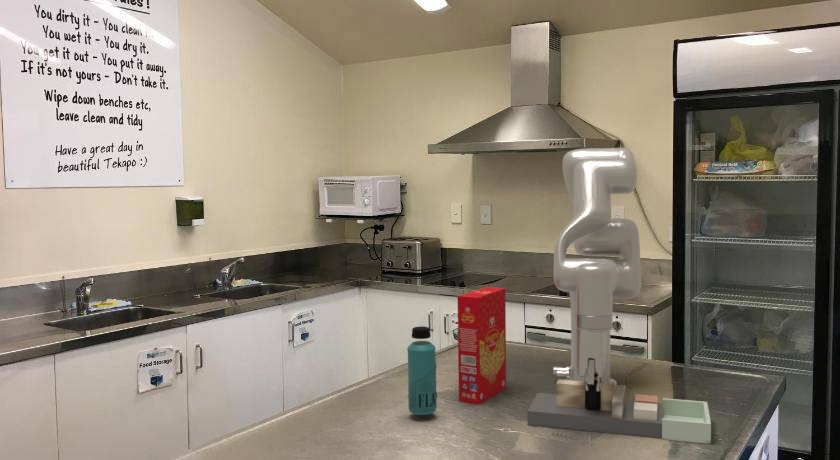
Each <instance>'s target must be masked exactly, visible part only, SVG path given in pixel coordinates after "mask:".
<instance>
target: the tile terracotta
mask: <svg viewBox="0 0 840 460" xmlns="http://www.w3.org/2000/svg"><path fill="white" fill-rule="evenodd" d="M634 401H635V402H639V403H651V404H657V403H658V401H659V400H658V395H653V394H652V395H649V394H640V393H639V394H637V393H635V397H634Z"/></svg>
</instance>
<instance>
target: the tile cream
mask: <svg viewBox="0 0 840 460" xmlns="http://www.w3.org/2000/svg"><path fill="white" fill-rule="evenodd" d="M634 419H644V420H655V421H657V404H651V403H639V402H635V403H634Z"/></svg>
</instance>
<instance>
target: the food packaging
mask: <svg viewBox="0 0 840 460" xmlns="http://www.w3.org/2000/svg"><path fill="white" fill-rule="evenodd" d="M506 307H507V306H506V287H505V288H502V287H490V286H485V287H482V288H479V289H476V290H473V291H470V292H466V293H463V294H461V295H457V345H458V346H457V349H458V351H457V353H458V354H457V355H458V359H457V360H458V362H457V364H458V366H457V367H458V402H461V403H467V404H471V403H472V404H473V405H477V404H478V406H479V404H480V405H481V404H483V403H484V402H486V401H488V400H490V399H491V398H493V397H494V396H496V395H498V394H499V393H501V392H502V391H504V390H505V389H507V344H506V343H507V342H506V341H507V334H506V333H507V328H506V327H507V326H506V324H507V323H506V322H507V320H506V319H507V317H506V315H507V314H506V313H507V311H506V310H507V309H506ZM487 399H488V400H487Z"/></svg>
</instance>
